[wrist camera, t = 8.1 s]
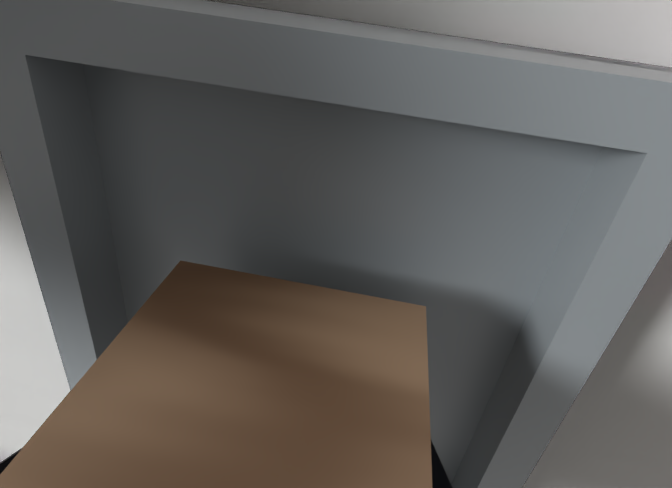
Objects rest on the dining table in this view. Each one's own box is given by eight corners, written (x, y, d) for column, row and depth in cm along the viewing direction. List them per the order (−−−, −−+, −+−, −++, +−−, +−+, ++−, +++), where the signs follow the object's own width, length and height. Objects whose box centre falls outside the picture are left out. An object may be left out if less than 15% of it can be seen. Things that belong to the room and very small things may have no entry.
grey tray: (134, 424, 16) (97, 483, 14) (48, -23, 9) (-52, -24, 7) (466, 496, 15) (472, 569, 13) (677, 68, 8) (757, 95, 6)
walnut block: (193, 418, 12) (65, 671, 7) (180, 260, 9) (-31, 510, 5) (382, 458, 11) (363, 748, 7) (426, 306, 9) (437, 621, 4)
